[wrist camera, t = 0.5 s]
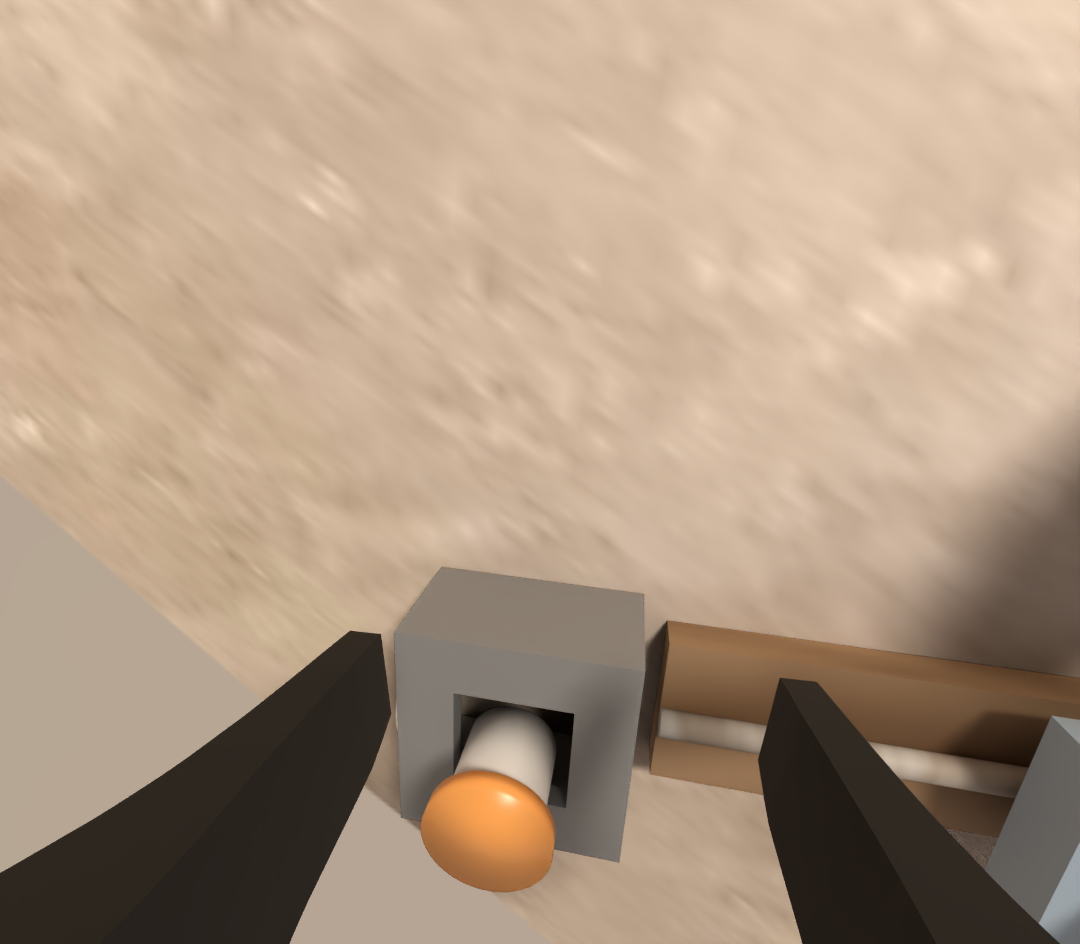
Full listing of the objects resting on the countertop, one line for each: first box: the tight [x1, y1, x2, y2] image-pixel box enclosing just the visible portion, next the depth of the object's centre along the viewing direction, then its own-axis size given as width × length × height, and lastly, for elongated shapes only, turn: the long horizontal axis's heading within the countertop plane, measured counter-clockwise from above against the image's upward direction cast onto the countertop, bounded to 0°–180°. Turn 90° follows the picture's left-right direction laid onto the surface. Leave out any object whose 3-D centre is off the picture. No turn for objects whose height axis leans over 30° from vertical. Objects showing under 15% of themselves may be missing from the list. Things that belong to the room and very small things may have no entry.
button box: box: [394, 567, 645, 862], centre depth 20 cm, size 8×8×4 cm
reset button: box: [421, 706, 557, 892], centre depth 17 cm, size 4×4×4 cm
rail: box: [649, 621, 1080, 837], centre depth 19 cm, size 6×18×2 cm, turn 87°
